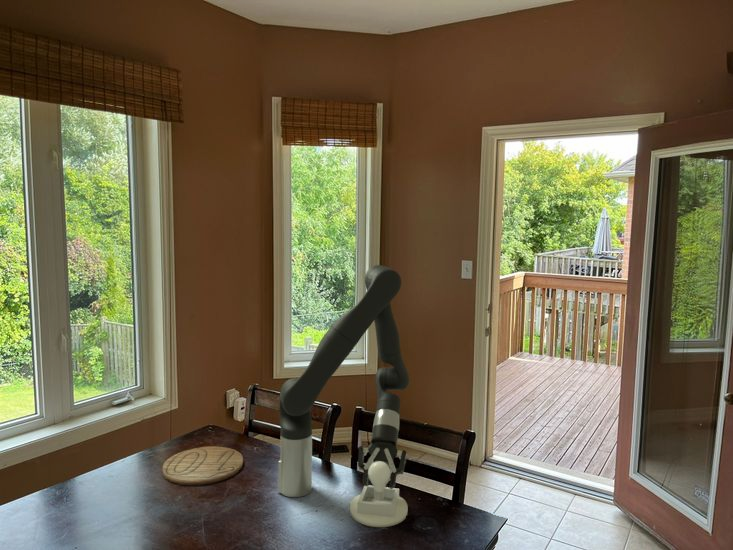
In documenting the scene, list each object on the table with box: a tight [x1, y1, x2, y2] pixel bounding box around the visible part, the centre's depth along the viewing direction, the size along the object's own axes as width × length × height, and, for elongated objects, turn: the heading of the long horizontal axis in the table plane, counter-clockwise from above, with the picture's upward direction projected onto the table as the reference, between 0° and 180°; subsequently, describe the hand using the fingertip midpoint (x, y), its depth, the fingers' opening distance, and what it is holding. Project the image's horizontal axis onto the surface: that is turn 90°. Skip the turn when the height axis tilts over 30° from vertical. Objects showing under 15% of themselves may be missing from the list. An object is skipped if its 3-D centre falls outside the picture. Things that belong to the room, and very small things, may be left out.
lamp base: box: [349, 484, 409, 528], centre depth 145 cm, size 16×16×4 cm
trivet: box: [162, 446, 244, 486], centre depth 170 cm, size 25×25×2 cm
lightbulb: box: [368, 461, 392, 501], centre depth 145 cm, size 6×6×11 cm
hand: (378, 486), depth 143 cm, fingers closed on lightbulb, 6 cm apart
